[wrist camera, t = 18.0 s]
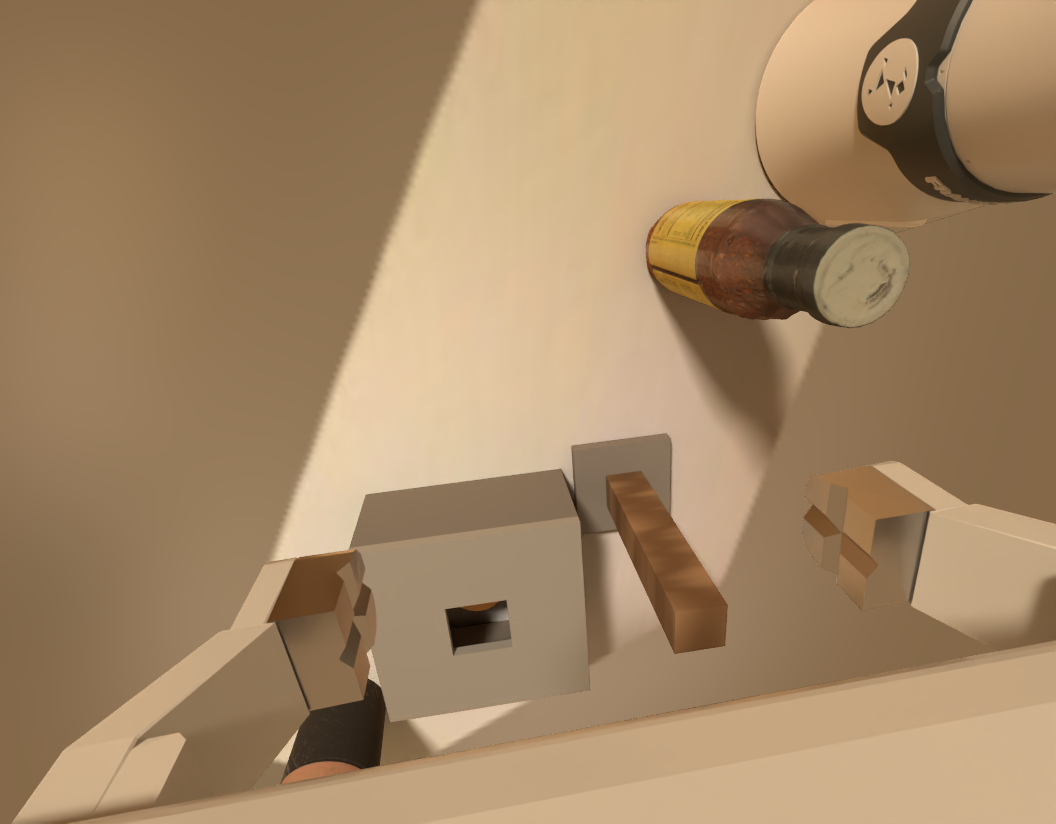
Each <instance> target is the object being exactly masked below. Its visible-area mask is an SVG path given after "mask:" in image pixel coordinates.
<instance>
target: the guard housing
mask: <svg viewBox="0 0 1056 824" xmlns="http://www.w3.org/2000/svg"><path fill="white" fill-rule="evenodd" d="M354 549H356V550H357V551H359V552H360V553H361V557H362V560H363V563H364V566H365V573H364V577H363V581H362V583H363V584H365V585H366V586H367V587H369V588H370V589H371V590H372V594H373V597H374V601H375V607H376V614H377V629H376V637H375V643H374V645H373V647H372V648H371V650H372V654H373V657H374V661H375V665H376V669H377V673H378V677H379V681H380V685H381V689H382V692H383V696H384V700H385V704H386V708H387V712H388V716H389V720H390V722H396V721H403V720H409V719H415V718H421V717H427V716H434V715H440V714H446V713H452V712H458V711H465V710H471V709H477V708H483V707H489V706H495V705H502V704H508V703H514V702H520V701H526V700H533V699H539V698H545V697H551V696H557V695H564V694H569V693H576V692H582V691H587V690H590V679H589V661H588V644H587V628H586V611H585V595H584V578H583V561H582V545H581V528H580V521H579V518H578V515H577V512H576V510H575V507H574V504H573V501H572V498H571V496H570V493H569V490H568V487H567V484H566V482H565V479H564V476H563V473H562V471H561V469H557V470H550V471H542V472H534V473H527V474H519V475H512V476H504V477H496V478H489V479H481V480H474V481H466V482H459V483H451V484H443V485H436V486H428V487H421V488H413V489H406V490H398V491H390V492H383V493H375V494H368V495H366V496H365V499H364V503H363V506H362V509H361V512H360V515H359V519H358V522H357V525H356V528H355V531H354V535H353V538H352V541H351V544H350V547H349V550H354ZM503 600H507V608H508V615H509V620H507V621H500V622H493V623H487V624H480V625H474V626H467V627H460V628H454V629H450V627H449V621H448V616H447V610H446V609H449V608H456V607H463V606H470V605H476V604H483V603H490V602H497V601H503Z"/></svg>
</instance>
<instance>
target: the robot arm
mask: <svg viewBox="0 0 1056 824" xmlns="http://www.w3.org/2000/svg"><path fill="white" fill-rule="evenodd" d="M756 138H757V144H758V150H759V154H760V158H761V161H762V164H763V166H764V169H765V171H766V173H767V175H768V177H769V179H770V180H771V182H772V184H773V185H774V186H775V188H776V189H777V190H778V192H779V193H780V194H781V195H782V196H783V197H784V198H785V199H786V200H787V201H789V202H790V203H791V204H794V205H796V206H798V207H799V208H801V209H803V210H804V211H805V212H806V213H807V214H809V215H810V216H811V217H812V218H813V219H814V220H816V221H817V222H818V223H819V224H820V225H825V226H828V227H838V226H840V225H844V224H850V223H862V224H869V225H878V226H883V227H886V228H889V229H891V230H893V231H894V232H895V233H898V232H901V231H904V230H907V229H910V228H914V227H917V226H922V225H924V224H927V223H930V222H933V221H936V220H939V219H943V218H946V217H949V216H952V215H955V214H959V213H962V212H964V211H968V210H971V209H974V208H977V207H981V206H984V205H987V204H998V203H1012V202H1019V201H1028V200H1033V199H1038V198H1042V197H1044V196H1047V195H1050V194H1053V193H1056V0H814V1H813V2H812V3H811V4H809V5H808V6H807V7H806V8H805V9H804V10H803V11H802V12H801V13H800V14H799V15H798V16H797V17H796V19H795V20H794V21H793V22H792V23H791V25H790V26H789V27H788V29H787V30H786V31H785V33H784V34H783V36H782V37H781V39H780V41H779V42H778V44H777V46H776V47H775V49H774V51H773V53H772V55H771V57H770V60H769V62H768V64H767V67H766V69H765V72H764V75H763V78H762V82H761V86H760V90H759V94H758V100H757V108H756ZM805 497H806V498H807V500H808V501H809V502H810V503H811V505H812V506H811V508H810V509H809V510H808V511H807V513H806V514H805V515H804V517H803V531H802V534H803V537H804V541H805V545H806V548H807V550H808V552H809V553H810V555H811V557H812V558H813V560H814V561H815V562H816V563H817V564H818V565H819V566H820V567H821V568H823V569H825V570H828V571H830V572H832V573H835V574H837V585H838V586H839V588H840V589H842V591H843V592H844V593H845V594H846V595H847V596H848V597H849V598H850V599H851V600H852V601H853V602H854V603H855V604H856V605H857V606H858V607H859V608H860V610H861V611H865V610H871V609H878V608H885V607H892V606H899V605H905V604H912V605H911V606H912V607H914V608H916V609H918V610H920V611H922V612H924V613H926V614H927V615H929V616H931V617H933V618H935V619H937V620H939V621H941V622H943V623H945V624H947V625H949V626H951V627H953V628H955V629H956V630H958V631H960V632H962V633H964V634H966V635H968V636H970V637H972V638H974V639H976V640H978V641H979V642H982V643H983V644H985V645H987V646H989V647H991V648H993V649H995V650H997V652H992V653H987V654H981V655H976V656H970V657H965V658H960V659H954V660H949V661H944V662H938V663H933V664H927V665H921V666H916V667H910V668H906V669H900V670H894V671H889V672H884V673H878V674H872V675H867V676H862V677H856V678H851V679H845V680H840V681H834V682H829V683H823V684H818V685H813V686H807V687H802V688H797V689H791V690H785V691H780V692H774V693H769V694H764V695H758V696H753V697H748V698H742V699H737V700H731V701H726V702H721V703H715V704H710V705H705V706H700V707H694V708H688V709H684V710H678V711H672V712H667V713H662V714H656V715H651V716H646V717H641V718H635V719H630V720H624V721H619V722H614V723H609V724H603V725H597V726H592V727H587V728H581V729H576V730H571V731H566V732H561V733H555V734H549V735H544V736H538V737H534V738H528V739H522V740H518V741H512V742H506V743H501V744H495V745H491V746H484V747H479V748H474V749H468V750H463V751H458V752H453V753H447V754H441V755H436V756H430V757H425V758H420V759H414V760H409V761H403V762H398V763H393V764H387V765H382V766H376V767H371V768H366V769H360V770H355V771H349V772H344V773H339V774H333V775H328V776H323V777H317V778H312V779H306V780H301V781H296V782H290V783H285V784H279V785H274V786H269V787H263V788H258V789H252V790H251V788H252V787H253V786H254V784H255V783H256V782H257V780H259V778H260V777H261V776H262V774H263V773H264V772H265V771H266V769H267V768H268V767H269V765H270V764H271V763H272V762H273V760H274V759H275V758H276V757H277V755H278V754H279V753H280V751H281V750H282V749H283V748H284V746H285V745H286V744H287V743H288V741H289V740H290V739H291V737H292V736H293V735H294V734H295V732H296V731H297V730H298V729H299V727H300V726H301V725H302V723H303V722H304V721H305V720H306V718H307V717H308V716H309V714H310V713H309V711H312V710H317V709H321V708H326V707H331V706H336V705H341V704H346V703H350V702H355V701H360V700H364V694H365V689H366V684H367V679H368V674H369V669H370V664H369V660H368V657H367V654H366V653H367V652H368V651H369V650H370V649H371V648H372V647H373V645H374V643H375V637H376V629H377V614H376V607H375V601H374V597H373V594H372V590H371V589H370V588H369V587H367V586H366V585H365V584H363V583H362V581H363V577H364V573H365V566H364V563H363V560H362V557H361V553H360V552H359V551H357V550H356V549H354V550H347V551H340V552H333V553H326V554H319V555H312V556H305V557H299V558H291V559H285V560H279V561H273V562H269V563H267V564H266V565H264V567H263V568H262V570H261V572H260V574H259V576H258V578H257V579H256V582H255V583H254V585H253V587H252V589H251V591H250V593H249V595H248V596H247V599H246V600H245V602H244V604H243V606H242V608H241V610H240V612H239V613H238V616H237V618H236V619H235V621H234V623H233V625H232V627H231V629H230V630H225V631H220V632H219V633H218V634H216V635H215V636H214V637H212V638H211V639H210V640H208V641H207V642H206V643H204V644H203V645H202V646H201V647H199V648H198V649H197V650H195V651H194V652H193V653H191V654H190V655H189V656H187V657H186V658H185V659H184V660H182V661H181V662H179V663H178V664H177V665H176V666H174V667H173V668H172V669H170V670H169V671H168V672H167V673H165V674H164V675H162V676H161V677H160V678H158V679H157V680H156V681H154V682H153V683H152V684H150V685H149V686H148V687H147V688H145V689H144V690H142V691H141V692H140V693H139V694H137V695H136V696H135V697H133V698H132V699H131V700H129V701H128V702H127V703H125V704H124V705H123V706H121V707H120V708H119V709H117V710H116V711H115V712H114V713H112V714H111V715H110V716H108V717H107V718H106V719H104V720H103V721H102V722H100V723H99V724H98V725H97V726H95V727H94V728H92V729H91V730H90V731H88V732H87V733H86V734H85V735H83V736H82V737H81V738H79V739H78V740H77V741H75V742H74V743H73V744H71V745H70V746H69V747H67V748H66V749H65V750H63V752H62V754H61V755H60V756H59V757H58V759H57V760H56V762H55V763H54V764H53V766H52V767H51V769H50V770H49V772H48V773H47V775H46V776H45V777H44V779H43V780H42V781H41V783H40V784H39V786H38V787H37V789H36V790H35V791H34V793H33V794H32V796H31V797H30V798H29V800H28V801H27V803H26V804H25V805H24V807H23V808H22V810H21V811H20V812H19V814H18V815H17V817H16V818H15V819H14V821H13V822H12V824H1056V524H1054V523H1050V522H1045V521H1042V520H1038V519H1034V518H1030V517H1026V516H1022V515H1019V514H1015V513H1011V512H1007V511H1003V510H999V509H996V508H991V507H988V506H984V505H980V504H972V505H967V504H966V503H964V502H963V501H961V500H959V499H958V498H956V497H954V496H953V495H951V494H950V493H948V492H946V491H945V490H943V489H942V488H940V487H939V486H937V485H935V484H934V483H932V482H931V481H929V480H927V479H926V478H924V477H922V476H921V475H919V474H918V473H916V472H914V471H913V470H911V469H910V468H908V467H907V466H905V465H903V464H902V463H900V462H895V461H886V462H881V463H876V464H871V465H866V466H863V467H858V468H852V469H847V470H841V471H836V472H831V473H825V474H819V475H814V476H810V478H809V480H808V482H807V484H806V492H805Z"/></svg>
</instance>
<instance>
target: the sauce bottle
mask: <svg viewBox="0 0 1056 824" xmlns="http://www.w3.org/2000/svg"><path fill="white" fill-rule="evenodd" d="M646 258H647V266H648V269H649V270H650V272H651V274H652V275H653V276H654V277H655V279H656V280H658V281H659V282H660V283H661V284H662V285H663V286H664V287H666V288H667V289H668V290H670V291H672V292H675V293H678V294H680V295H683V296H685V297H688V298H691V299H693V300H696V301H698V302H701V303H704V304H706V305H708V306H711V307H713V308H716V309H719V310H721V311H724V312H726V313H729V314H735V315H738V316H740V317H743V318H748V319H761V320H767V319H781V320H783V319H788V318H789V317H790V316H791V315H793V314H795V313H797V312H799V311H805V312H808V313H809V314H810V315H811V316H812V317H813V318H815V319H816V320H818V321H820V322H822V323H825V324H828V325H833V326H839V327H847V328H854V327H861V326H864V325H867V324H870V323H872V322H874V321H876V320H877V319H879V318H881V317H882V316H884V315H885V314H886V313H887V312H888V311H889V310H890V309H891V308H892V306H893V305H894V304H895V303H896V301H897V300H898V298H899V296H900V295H901V293H902V291H903V289H904V286H905V283H906V280H907V278H908V275H909V266H910V259H909V253H908V250H907V248H906V246H905V244H904V242H903V241H902V240H901V239H900V237H898V236H897V235H896V234H895V232H894V231H893V230H891V229H889V228H886V227H883V226H878V225H869V224H862V223H850V224H844V225H840V226H838V227H828V226H825V225H820V224H819V223H818V222H817V221H816V220H814V219H813V218H812V217H811V216H810V215H809V214H807V213H806V212H805V211H804V210H803V209H801V208H799V207H798V206H796V205H794V204H791V203H788V202H785V201H782V200H776V199H747V200H718V201H695V202H688V203H684V204H681V205H679V206H676V207H674V208H672V209H671V210H669V211H668V212H667V213H665V214H664V215H663V216H662V217H660V219H659V220H658V221H657V222H656V223H655V225H654V226H653V227H652V228H651V230H650V232H649V234H648V238H647V243H646Z"/></svg>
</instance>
